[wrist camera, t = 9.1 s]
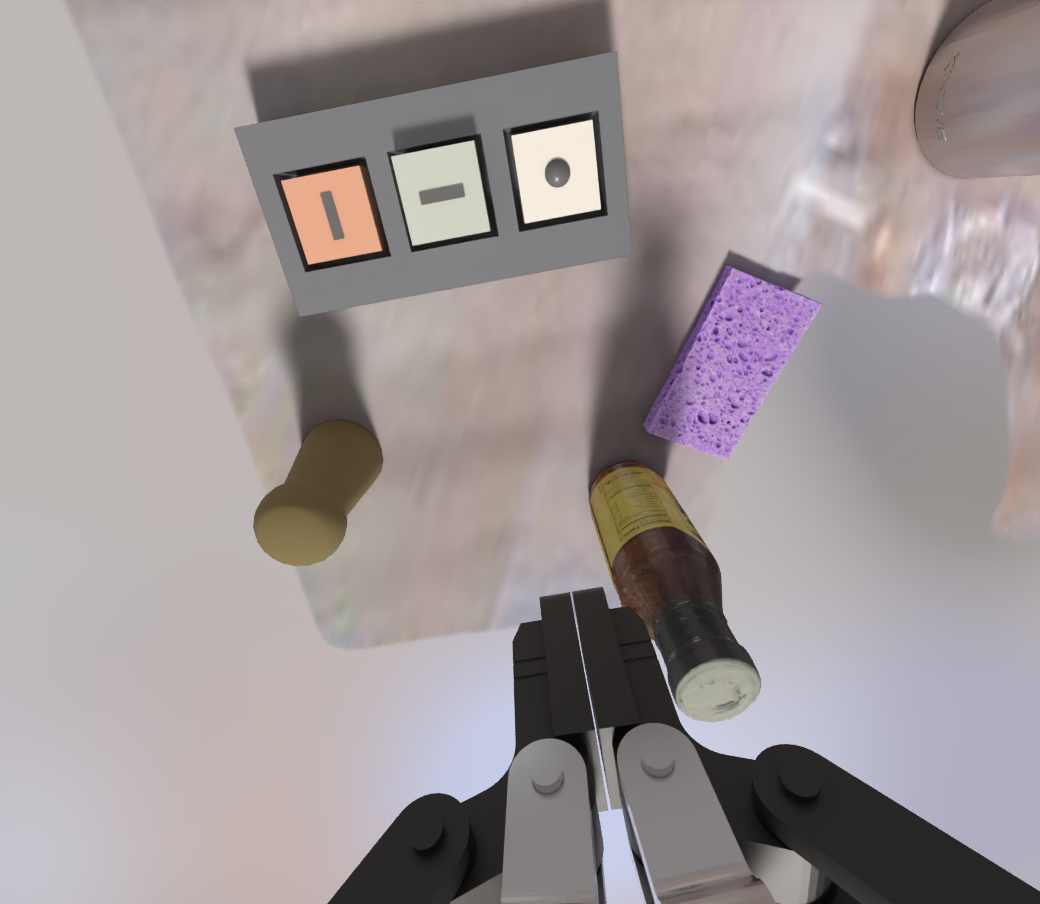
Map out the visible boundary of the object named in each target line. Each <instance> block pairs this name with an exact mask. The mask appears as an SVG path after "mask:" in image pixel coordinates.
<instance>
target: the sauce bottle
mask: <svg viewBox="0 0 1040 904" xmlns="http://www.w3.org/2000/svg"><path fill="white" fill-rule="evenodd" d="M589 504H590V510H591V515H592V519H593V522H594V526H595V529H596V532H597V535H598V538H599V541H600V545H601V548H602V551H603V554H604V557H605V560H606V563H607V566H608V570H609V573H610V576H611V579H612V582H613V585H614V588H615V589H616V591H617V593H618V594H619V598H620V601H621V605H622V607H626V606H630V607H631V608H632V609H633V610H634V611H635V612H636V613H637V614H638V615H639V616H640V617H641V618H642V619H643V620H644V621H645V624H646V627H647V630H648V632H649V635H650V638H651V639H653V640H654V641H655V643H656V646H657V647H658V649H659V650H660V652H661V654H662V657H663V659H664V662H665V665H666V667H667V672H668V683H669V686H670V689H671V692H672V695H673V697H674V700H675V703H676V704H677V706H678V708H679V709H680V710H681V711H682V712H684V713H685V714H686V715H687V716H689V717H691V718H693V719H695V720H699V721H705V722H717V721H723V720H726V719H730V718H733V717H734V716H736V715H738V714H740V713H742V712H743V711H744V710H746V709H747V708H748V707H749V706H750V705H751V704H752V703H753V702H754V701H755V700H756V697H757V696H758V695H759V693H760V689H761V679H760V676H759V673H758V671H757V669H756V667H755V665H754V663H753V660H752V659H751V657H750V655H749V654H748V652H747V651H746V649H744V647H742V646H741V645H740V644H738V642H737V641H736V639H735V637H734V635H733V634H732V632H731V630H730V628H729V627H728V625H727V620H726V618H725V616H724V614H723V608H722V584H721V573H720V569H719V566H718V564H717V562H716V560H715V559H714V557H713V555H712V553H711V552H710V550H709V549H708V547H707V546H706V544H705V543H704V541H703V540H702V538H701V537H700V535H699V533H698V532H697V530H696V529H695V527H694V526H693V524H692V523H691V521H690V520H689V518H688V516H687V514H686V513H685V512H684V510H683V509H682V507H681V506H680V504H679V503H678V501H677V499H676V498H675V496H674V495H673V493H672V492H671V490H670V489H669V487H668V486H667V484H666V483H665V481H664V480H663V479H662V478H661V477H660V476H659V475H658V474H657V473H656V472H654V471H653V470H651V469H650V468H648V467H647V466H645V465H642V464H639V463H636V462H625V463H620V464H617V465H614V466H611V467H609V468H607V469H605V470H603V471H602V472H601V473H600V474H599V475H598V477H597V478H596V480H595V481H594V484H593V486H592V488H591V492H590V495H589Z"/></svg>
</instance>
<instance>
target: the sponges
mask: <svg viewBox="0 0 1040 904" xmlns="http://www.w3.org/2000/svg"><path fill="white" fill-rule="evenodd" d="M821 305H822V304H821V303H819V302H817V301H815V300H812V299H810V298H808V297H805V296H803V295H801V294H798V293H796V292H792V291H790V290H787V289H785V288H782V287H780V286H777V285H775V284H772V283H769V282H767V281H764V280H762V279H760V278H757V277H754V276H752V275H750V274H747V273H745V272H742V271H740V270H738V269H735V268H733V267H731V266H728V265H727V266H726V267H725V268H724V271H723V273H722V275H721V278H720V280H719V281H718V283H717V284H716V286H715V288H714V290H713V292H712V295H711V297H710V299H709V300H708V302H707V304H706V306H705V308H704V311H703V312H702V314H701V315H700V317H699V320H698V321H697V324H696V325H695V327H694V330H693V331H692V333H691V335H690V336H689V339H688V341H687V342H686V344H685V346H684V348H683V350H682V352H681V354H680V356H679V358H678V359H677V361H676V363H675V365H674V367H673V369H672V371H671V372H670V376H669V378H668V379H667V381H666V383H665V384H664V386H663V388H662V389H661V391H660V393H659V395H658V397H657V399H656V401H655V402H654V404H653V406H652V408H651V410H650V412H649V414H648V416H647V418H646V420H645V422H644V423H643V425H644V427H645V429H646V430H647V432H648V433H650V434H653V435H656V436H658V437H661V438H664V439H666V440H669V441H672V442H679V443H682V444H683V445H684V446H688V447H691V448H693V449H698V450H701V451H703V452H706V453H709V454H711V455H713V456H716V457H721V458H723V459H725V460H728V459H729V457H730V456H731V454H732V452H733V450H734V448H735V447H736V444H737V442H738V441H739V440H740V439H741V437H742V435H743V433H744V431H745V429H746V427H747V426H748V421H749V419H750V417H751V416H754V414H755V413H756V411H757V409H758V408H759V407H760V405H761V403H762V402H763V401H764V399H765V396H766V394H767V392H769V390H770V389H771V387H772V384H773V383H774V382H775V381H776V379H777V378H778V376H779V374H780V373H781V371H782V369H783V368H784V366H785V364H786V363H787V361H788V359H789V357H790V356H791V355H792V353H793V351H794V350H795V348H796V346H797V345H798V343H799V341H800V339H801V337H802V336H803V334H804V333H805V331H806V330H807V328H808V327H809V325H810V323H811V321H812V320H813V318H814V317H815V316H816V314H817V312H818V310H819V309H820V307H821Z"/></svg>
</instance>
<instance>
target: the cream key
mask: <svg viewBox="0 0 1040 904" xmlns="http://www.w3.org/2000/svg"><path fill="white" fill-rule="evenodd" d="M510 141H511V147H512V154H513V160H514V167H515V173H516V180H517V186H518V192H519V199H520V205H521V212H522V218H523V223H525V224H526V223H531V222H536V221H541V220H547V219H552V218H557V217H563V216H568V215H573V214H578V213H584V212H589V211H594V210H600V209H601V204H600V193H599V183H598V172H597V162H596V152H595V141H594V131H593V120H589V121H584V122H579V123H574V124H568V125H563V126H558V127H553V128H548V129H543V130H538V131H533V132H528V133H523V134H517V135H512V136H511V140H510Z"/></svg>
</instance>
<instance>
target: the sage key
mask: <svg viewBox="0 0 1040 904" xmlns="http://www.w3.org/2000/svg"><path fill="white" fill-rule="evenodd" d="M391 159H392V163H393V167H394V171H395V175H396V179H397V183H398V188H399V192H400V196H401V200H402V204H403V208H404V212H405V216H406V220H407V225H408V229H409V233H410V237H411V241H412V245H413V246H414V245H419V244H425V243H430V242H435V241H440V240H446V239H451V238H456V237H462V236H467V235H472V234H477V233H483V232H488V231H491V227H490V221H489V216H488V210H487V205H486V199H485V194H484V188H483V183H482V177H481V172H480V166H479V161H478V155H477V150H476V145H475V142H474V140H473V141H468V142H463V143H458V144H453V145H448V146H443V147H437V148H432V149H427V150H422V151H417V152H412V153H407V154H402V155H397V156H392V157H391Z"/></svg>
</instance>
